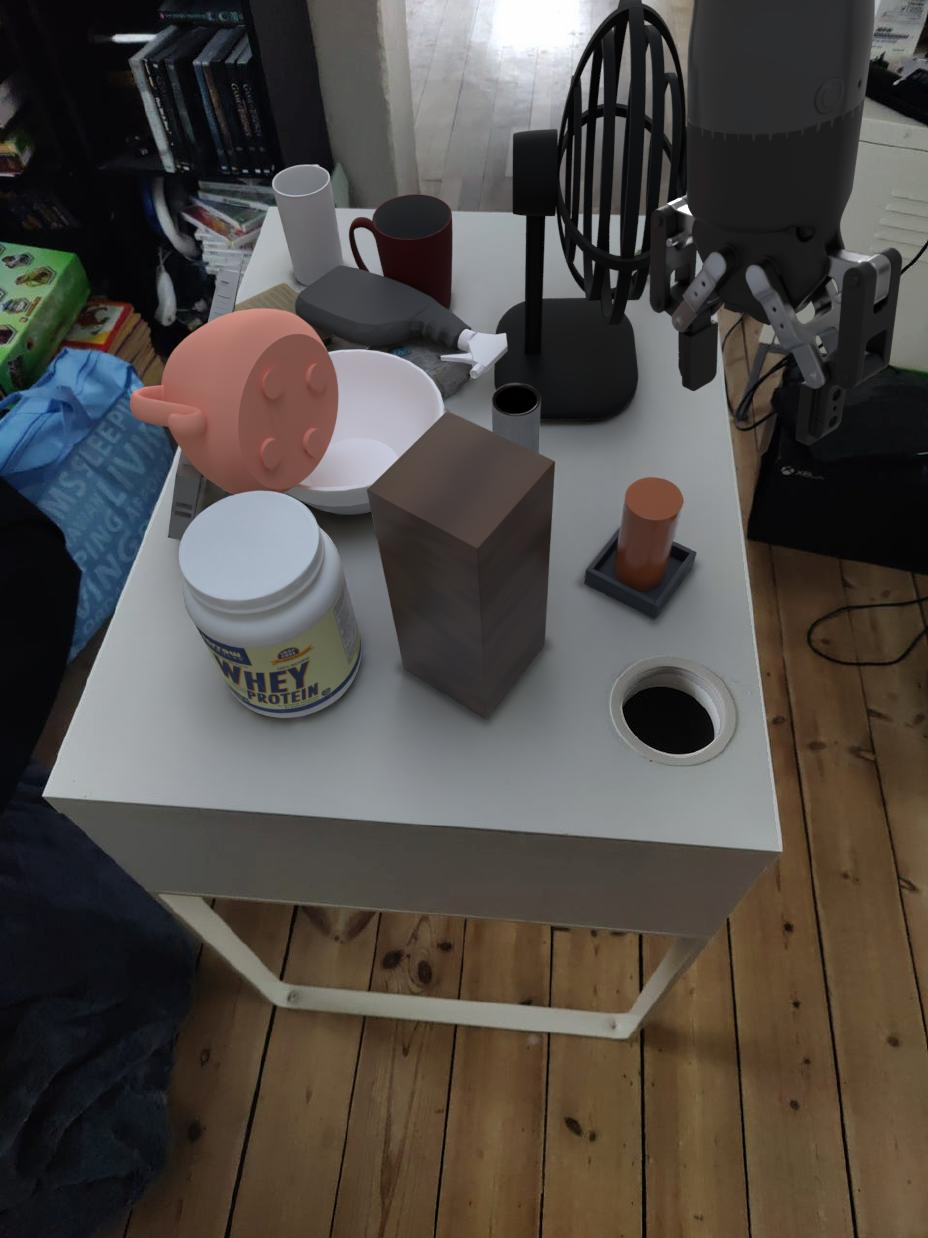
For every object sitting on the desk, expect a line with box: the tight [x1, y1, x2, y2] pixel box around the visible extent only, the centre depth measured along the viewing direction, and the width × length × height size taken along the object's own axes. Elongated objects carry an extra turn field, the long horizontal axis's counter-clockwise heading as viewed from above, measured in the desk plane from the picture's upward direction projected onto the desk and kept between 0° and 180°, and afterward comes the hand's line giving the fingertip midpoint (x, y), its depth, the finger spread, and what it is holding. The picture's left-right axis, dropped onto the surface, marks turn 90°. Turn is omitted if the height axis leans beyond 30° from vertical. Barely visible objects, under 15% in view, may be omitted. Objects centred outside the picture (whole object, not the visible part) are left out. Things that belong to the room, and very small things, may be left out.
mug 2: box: [348, 194, 454, 310], centre depth 100 cm, size 12×9×11 cm
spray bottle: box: [295, 265, 507, 380], centre depth 94 cm, size 3×11×24 cm
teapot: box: [129, 308, 338, 495], centre depth 73 cm, size 22×16×12 cm
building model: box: [167, 252, 245, 541], centre depth 84 cm, size 25×18×2 cm
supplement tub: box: [177, 491, 363, 719], centre depth 69 cm, size 12×12×17 cm
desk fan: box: [493, 0, 687, 421], centre depth 82 cm, size 27×18×35 cm, turn 178°
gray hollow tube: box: [491, 383, 541, 454], centre depth 83 cm, size 4×4×10 cm
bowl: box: [284, 348, 445, 516], centre depth 85 cm, size 19×20×8 cm
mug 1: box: [271, 164, 345, 287], centre depth 105 cm, size 10×7×12 cm, turn 169°
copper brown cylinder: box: [614, 476, 684, 591], centre depth 76 cm, size 5×5×10 cm
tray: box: [584, 526, 698, 620], centre depth 79 cm, size 7×7×2 cm
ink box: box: [234, 282, 335, 350], centre depth 100 cm, size 10×4×8 cm
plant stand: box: [367, 410, 556, 720], centre depth 66 cm, size 9×9×23 cm
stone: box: [365, 336, 473, 400], centre depth 95 cm, size 15×5×10 cm
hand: (752, 408), depth 50 cm, fingers open, 8 cm apart
